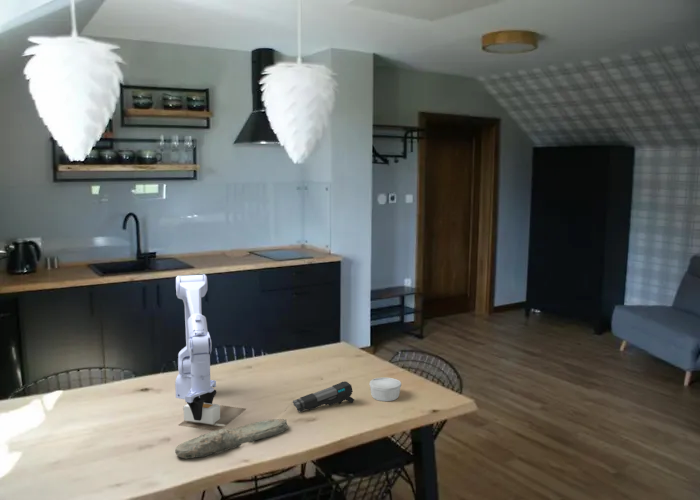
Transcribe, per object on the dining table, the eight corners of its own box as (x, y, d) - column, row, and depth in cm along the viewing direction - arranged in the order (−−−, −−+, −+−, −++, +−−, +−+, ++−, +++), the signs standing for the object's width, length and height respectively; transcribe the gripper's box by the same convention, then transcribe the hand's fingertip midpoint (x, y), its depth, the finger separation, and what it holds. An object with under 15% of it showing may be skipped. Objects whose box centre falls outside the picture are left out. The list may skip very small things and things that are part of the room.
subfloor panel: (178, 428, 183) (177, 424, 183) (208, 406, 201) (208, 403, 200) (218, 434, 179) (218, 431, 179) (246, 411, 196) (246, 408, 196)
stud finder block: (183, 420, 185) (183, 405, 184) (192, 414, 189) (191, 400, 188) (212, 424, 182) (212, 409, 181) (220, 418, 186) (219, 404, 185)
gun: (357, 402, 203) (348, 377, 201) (306, 431, 197) (296, 405, 194) (352, 398, 207) (343, 373, 205) (301, 426, 201) (291, 400, 198)
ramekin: (391, 389, 217) (391, 375, 217) (407, 399, 207) (407, 385, 207) (363, 394, 212) (363, 379, 212) (378, 405, 203) (378, 390, 202)
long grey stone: (295, 437, 181) (278, 428, 189) (295, 420, 181) (278, 411, 189) (183, 465, 160) (169, 453, 168) (183, 445, 160) (169, 434, 168)
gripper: (199, 383, 175) (200, 427, 177) (224, 368, 189) (225, 409, 191) (178, 380, 177) (180, 424, 179) (204, 365, 191) (205, 406, 193)
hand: (202, 416), depth 185 cm, fingers closed on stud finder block, 4 cm apart
